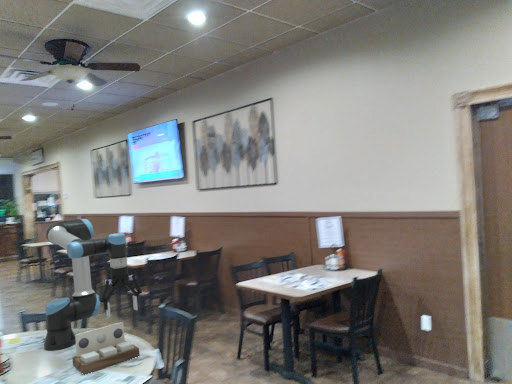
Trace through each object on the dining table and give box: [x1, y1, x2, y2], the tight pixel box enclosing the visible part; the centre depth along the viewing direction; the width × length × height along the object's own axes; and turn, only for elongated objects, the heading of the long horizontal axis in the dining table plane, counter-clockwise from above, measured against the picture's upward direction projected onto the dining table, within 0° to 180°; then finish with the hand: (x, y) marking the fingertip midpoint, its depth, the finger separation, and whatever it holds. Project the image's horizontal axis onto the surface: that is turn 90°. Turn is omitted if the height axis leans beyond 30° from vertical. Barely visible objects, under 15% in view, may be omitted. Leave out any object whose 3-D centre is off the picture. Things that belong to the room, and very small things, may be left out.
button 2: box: [116, 340, 135, 352], centre depth 190 cm, size 6×6×3 cm
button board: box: [71, 340, 141, 376], centre depth 187 cm, size 15×25×4 cm, turn 131°
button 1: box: [81, 351, 99, 364], centre depth 180 cm, size 6×6×3 cm
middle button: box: [99, 346, 117, 358], centre depth 185 cm, size 6×6×3 cm
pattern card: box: [74, 321, 126, 357], centre depth 191 cm, size 2×22×10 cm, turn 131°
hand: (122, 313), depth 190 cm, fingers open, 12 cm apart
